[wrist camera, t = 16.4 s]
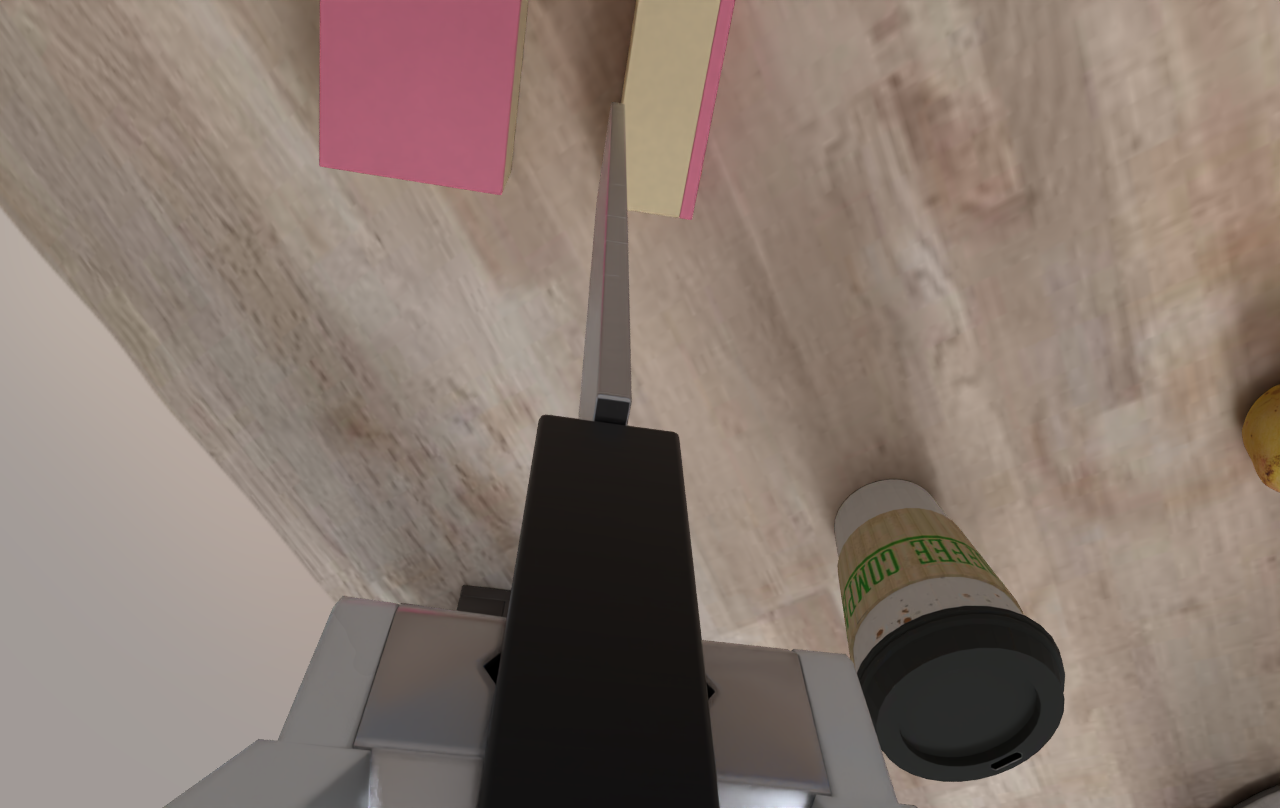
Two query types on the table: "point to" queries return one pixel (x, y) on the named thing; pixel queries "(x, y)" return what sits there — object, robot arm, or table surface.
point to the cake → (421, 89)
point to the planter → (1263, 799)
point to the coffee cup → (940, 641)
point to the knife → (603, 586)
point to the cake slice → (671, 100)
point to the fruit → (1264, 437)
